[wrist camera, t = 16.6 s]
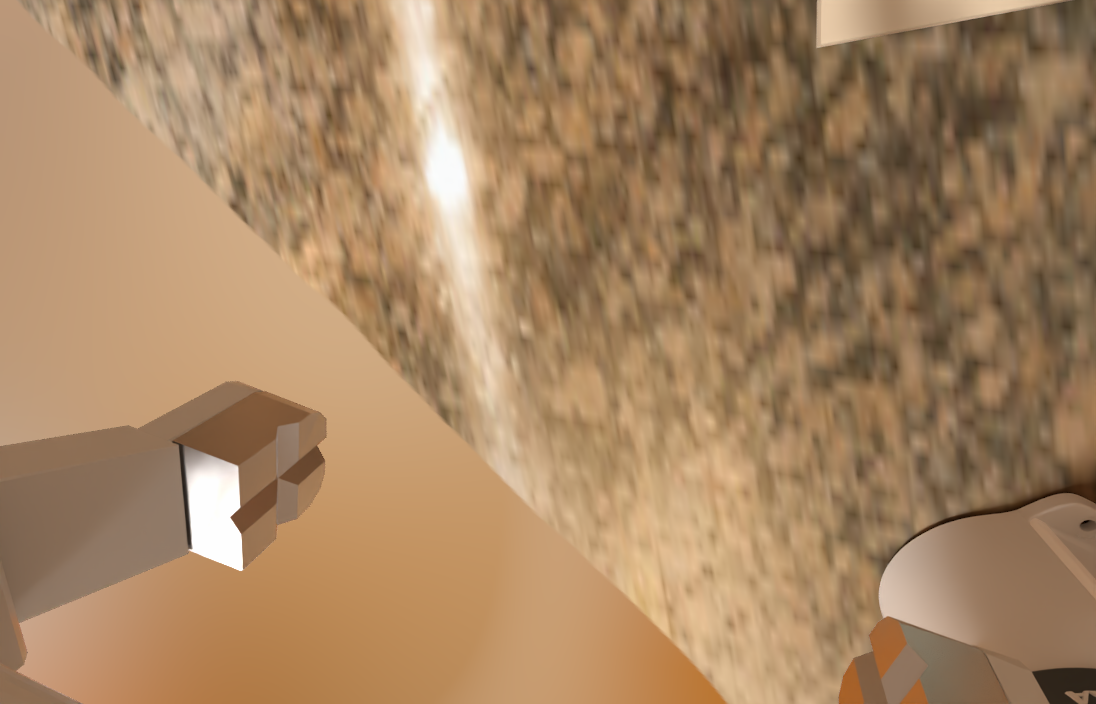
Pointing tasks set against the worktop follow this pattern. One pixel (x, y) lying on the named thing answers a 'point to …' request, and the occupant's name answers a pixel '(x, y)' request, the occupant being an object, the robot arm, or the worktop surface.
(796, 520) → the worktop surface
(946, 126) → the worktop surface
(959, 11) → the pin board
